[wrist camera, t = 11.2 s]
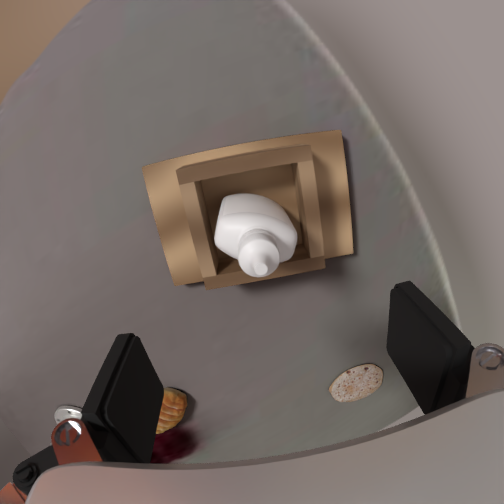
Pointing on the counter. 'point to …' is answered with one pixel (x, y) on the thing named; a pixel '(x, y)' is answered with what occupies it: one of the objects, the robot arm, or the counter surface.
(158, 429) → the pastry
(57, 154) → the counter surface
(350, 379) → the flatbread
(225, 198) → the eye dropper bottle
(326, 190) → the holder stand
